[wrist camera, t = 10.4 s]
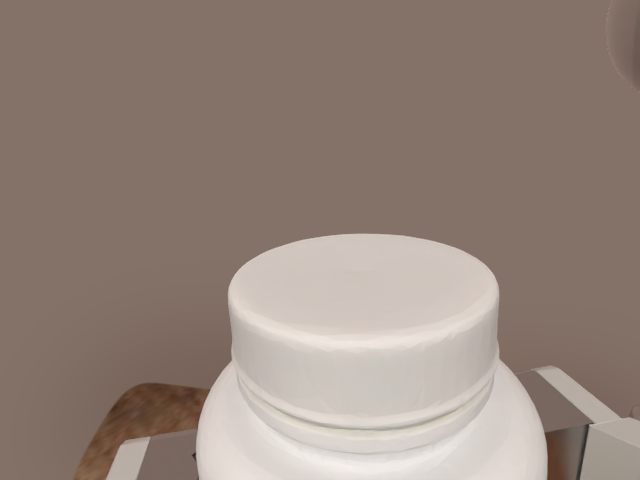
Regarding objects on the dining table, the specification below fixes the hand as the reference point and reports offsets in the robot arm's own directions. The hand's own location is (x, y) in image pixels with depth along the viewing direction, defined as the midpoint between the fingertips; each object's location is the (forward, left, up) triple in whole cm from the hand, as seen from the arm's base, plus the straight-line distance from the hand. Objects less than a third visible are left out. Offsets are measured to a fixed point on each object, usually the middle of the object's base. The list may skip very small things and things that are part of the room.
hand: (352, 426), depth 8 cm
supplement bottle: (0, +1, -7) cm, 7 cm away
